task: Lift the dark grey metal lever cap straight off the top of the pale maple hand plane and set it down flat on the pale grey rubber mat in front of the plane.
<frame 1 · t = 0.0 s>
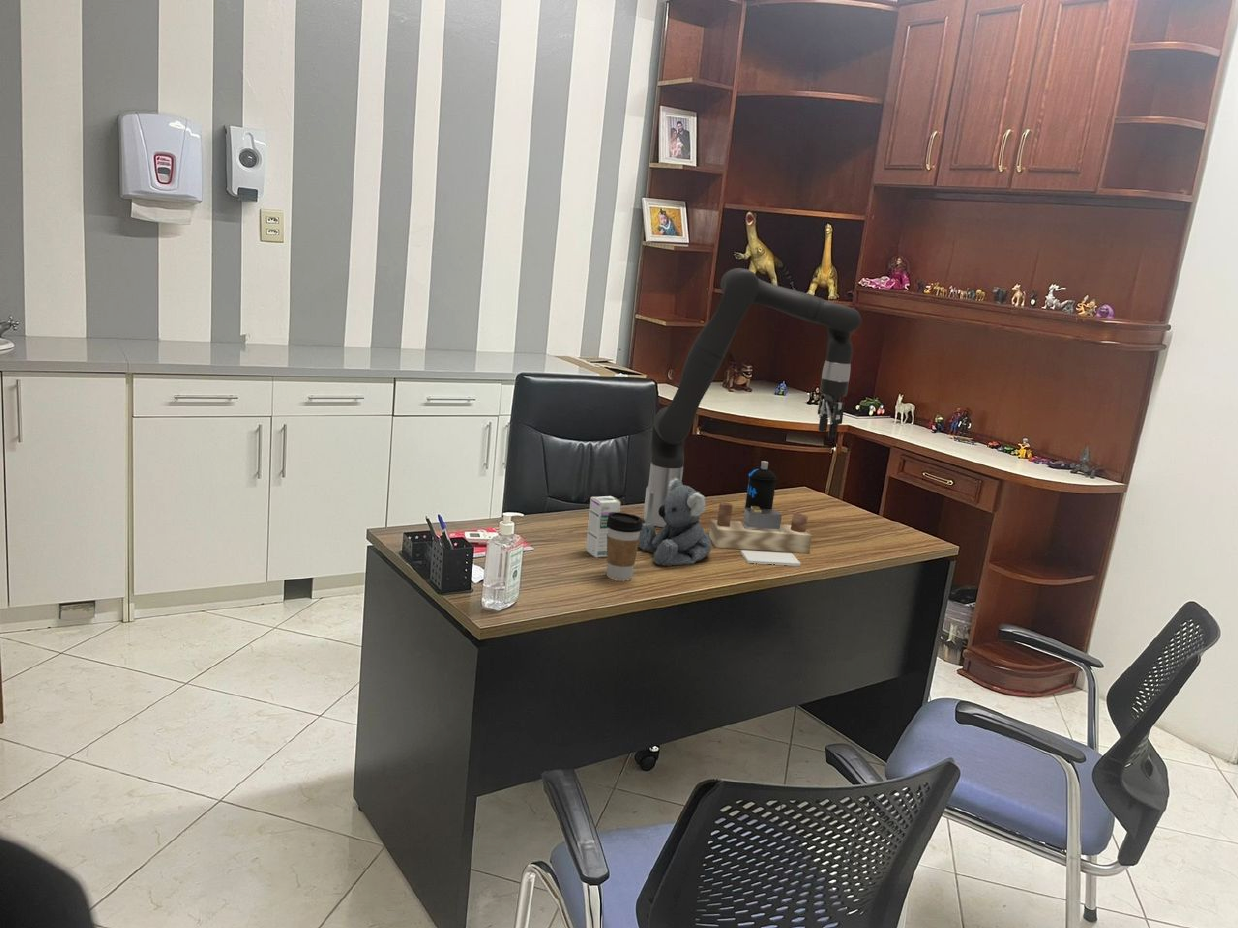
hand: (826, 434, 271), 29 cm above the table, tool pointing down, fingers open, 8 cm apart
coffee cup: (619, 577, 226), on the table
rubber mat: (770, 559, 249), on the table
lever cap: (761, 525, 260), point 6 cm above the table, touching hand plane
aerosol can: (755, 529, 276), on the table
hand plane: (758, 544, 261), on the table
koala plush: (676, 556, 245), on the table
syrup box: (600, 554, 241), on the table
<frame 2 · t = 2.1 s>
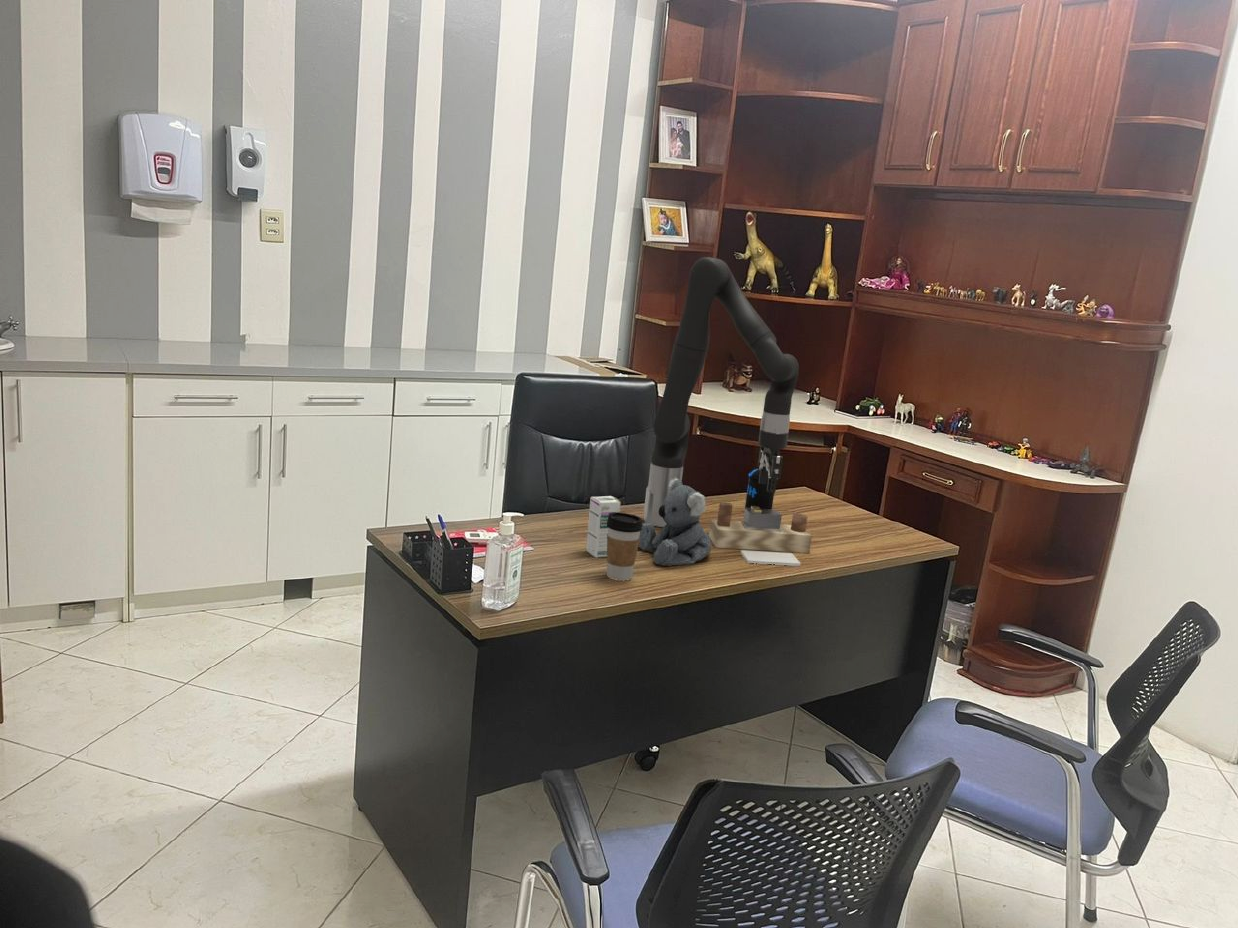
hand: (766, 488, 257), 16 cm above the table, tool pointing down, fingers open, 8 cm apart
nothing on the table moved.
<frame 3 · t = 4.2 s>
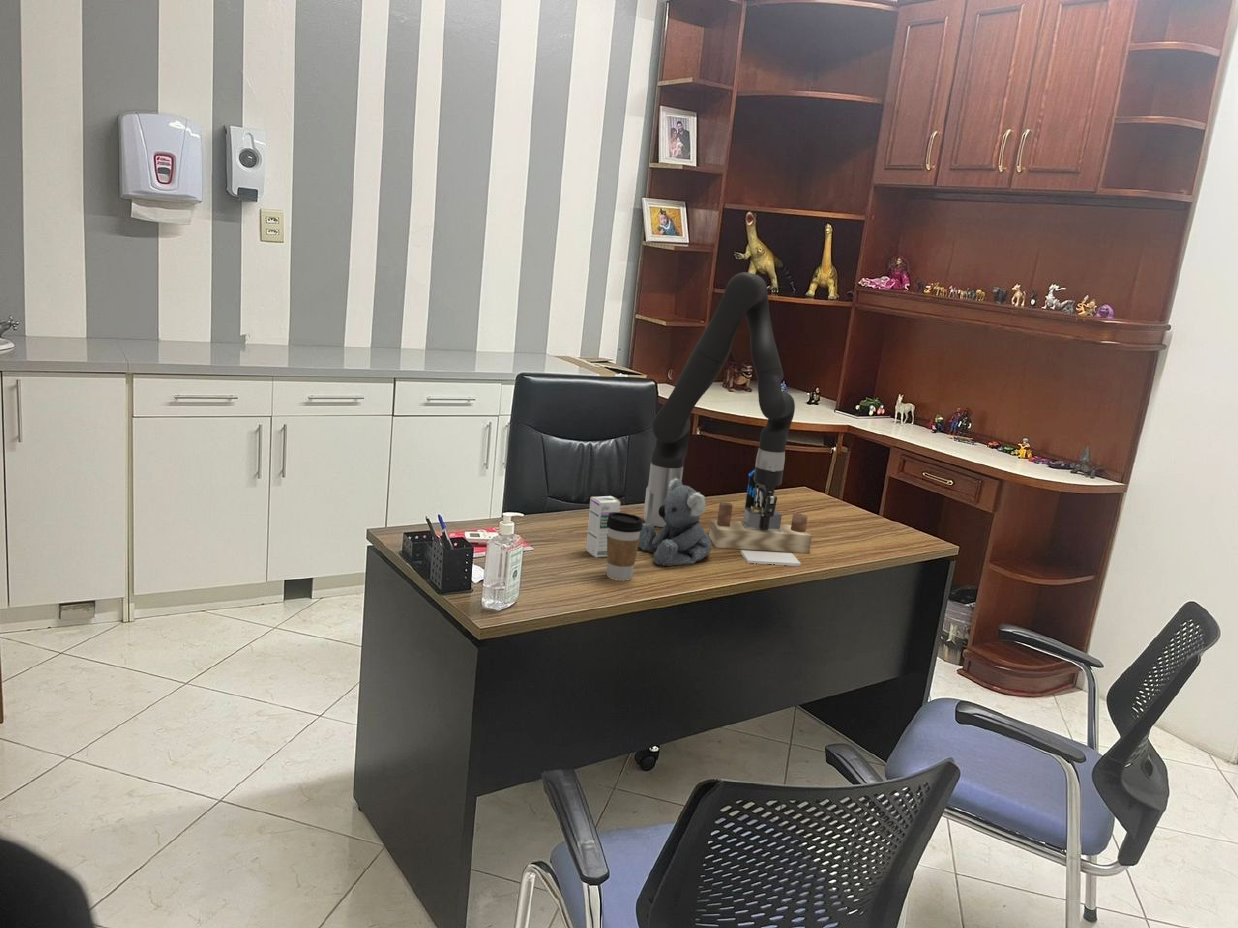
hand: (761, 526, 260), 5 cm above the table, tool pointing down, fingers closed on hand plane, 5 cm apart
nothing on the table moved.
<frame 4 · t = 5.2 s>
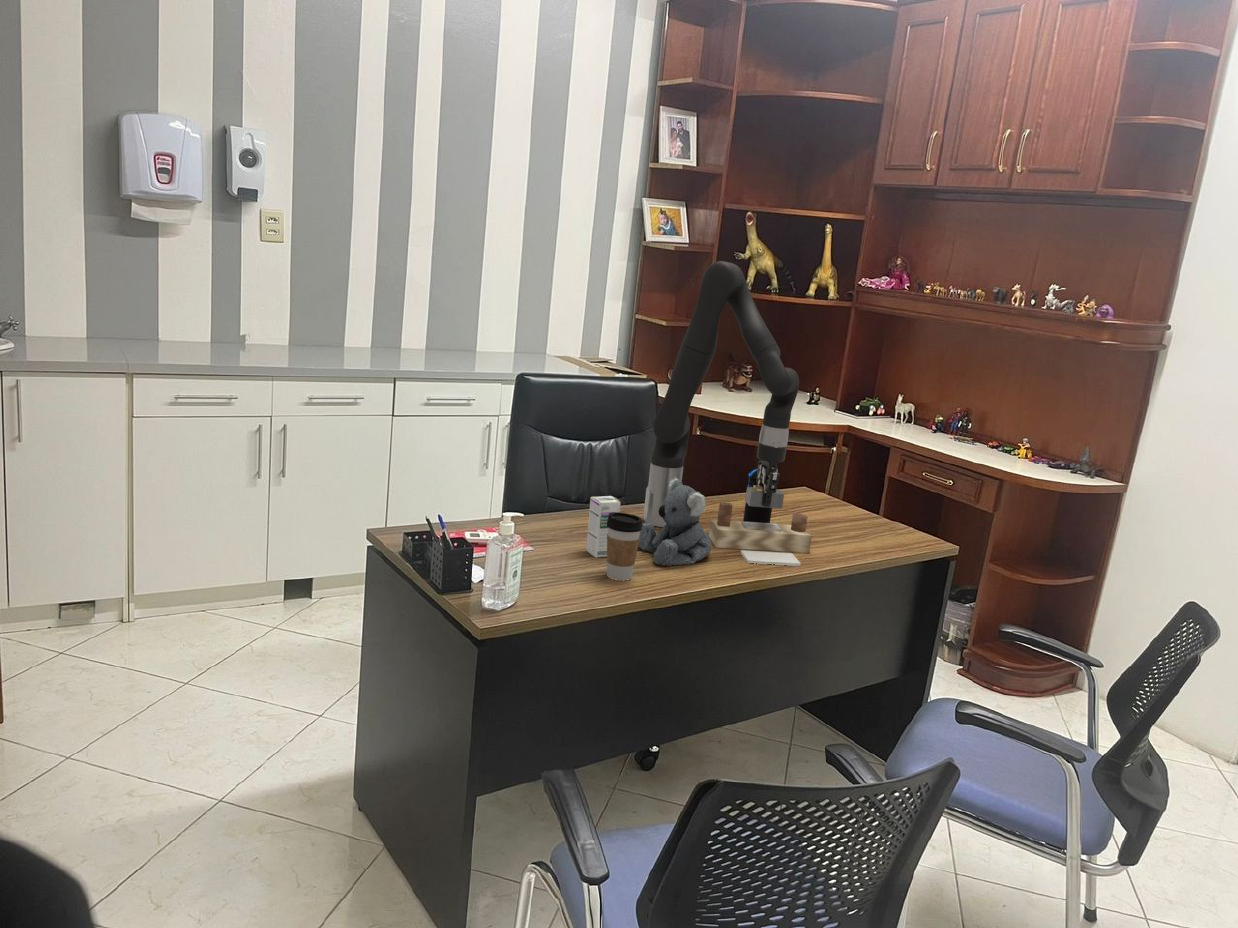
hand: (763, 503, 258), 12 cm above the table, tool pointing down, fingers closed on lever cap, 5 cm apart
lever cap: (763, 504, 258), point 11 cm above the table, touching gripper
everything else where it was.
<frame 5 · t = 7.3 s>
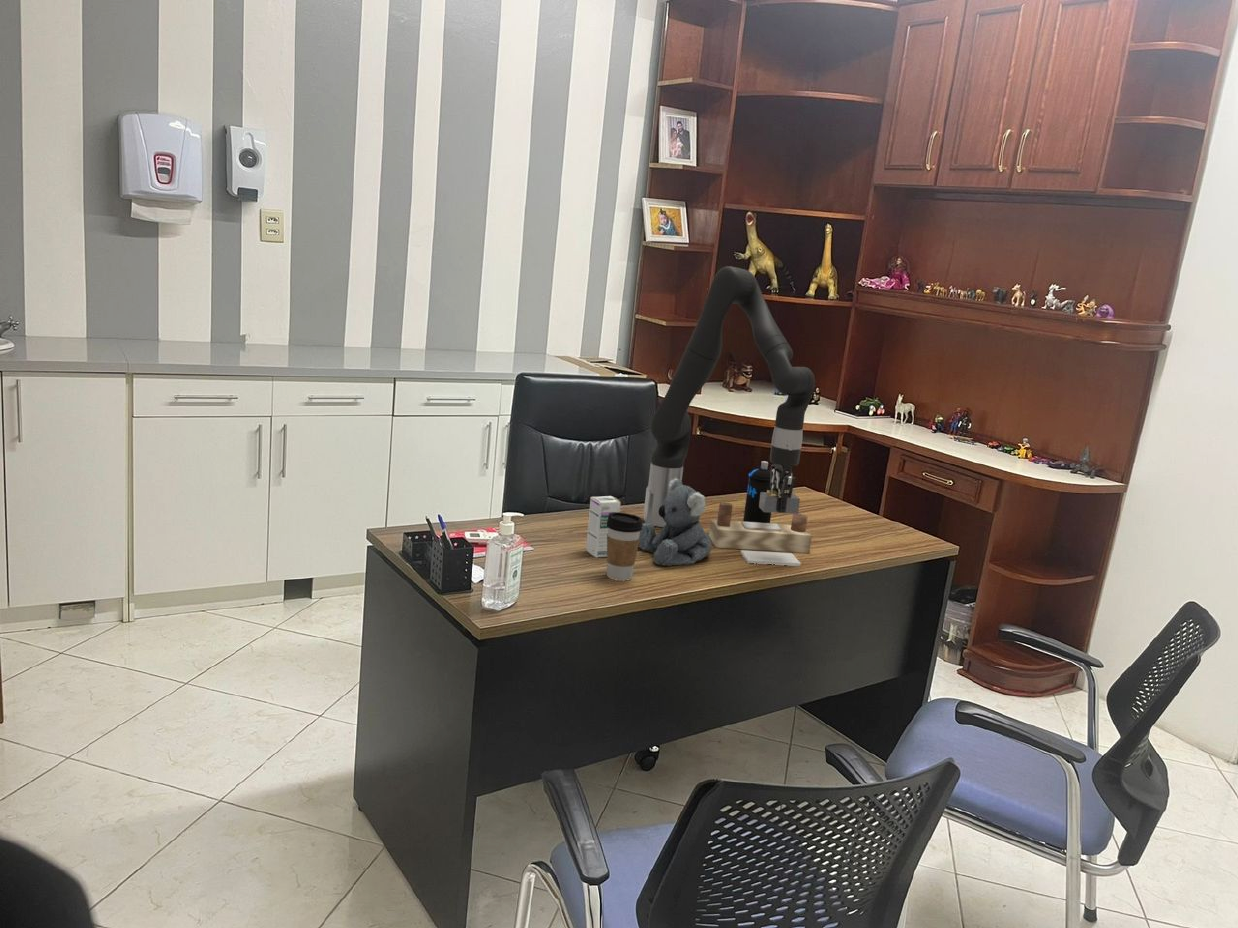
hand: (777, 508, 246), 14 cm above the table, tool pointing down, fingers closed on lever cap, 5 cm apart
lever cap: (778, 510, 246), point 13 cm above the table, touching gripper
everything else where it was.
when the fingers open (2 cm above the table, at t = 9.8 s): lever cap stays where it is, resting on rubber mat.
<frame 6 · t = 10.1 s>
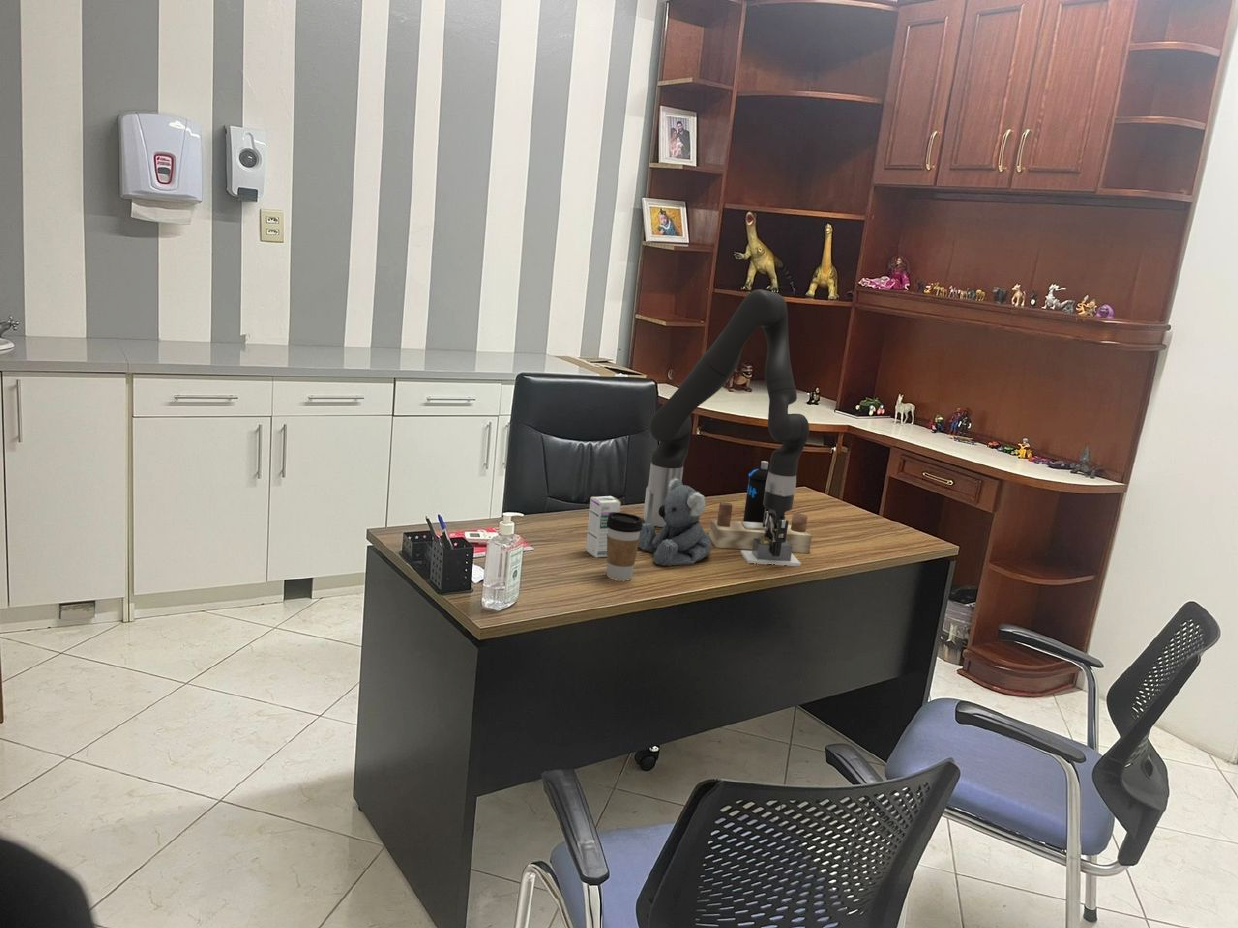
hand: (771, 550, 249), 2 cm above the table, tool pointing down, fingers open, 7 cm apart
lever cap: (771, 556, 249), point 1 cm above the table, touching rubber mat
everything else where it was.
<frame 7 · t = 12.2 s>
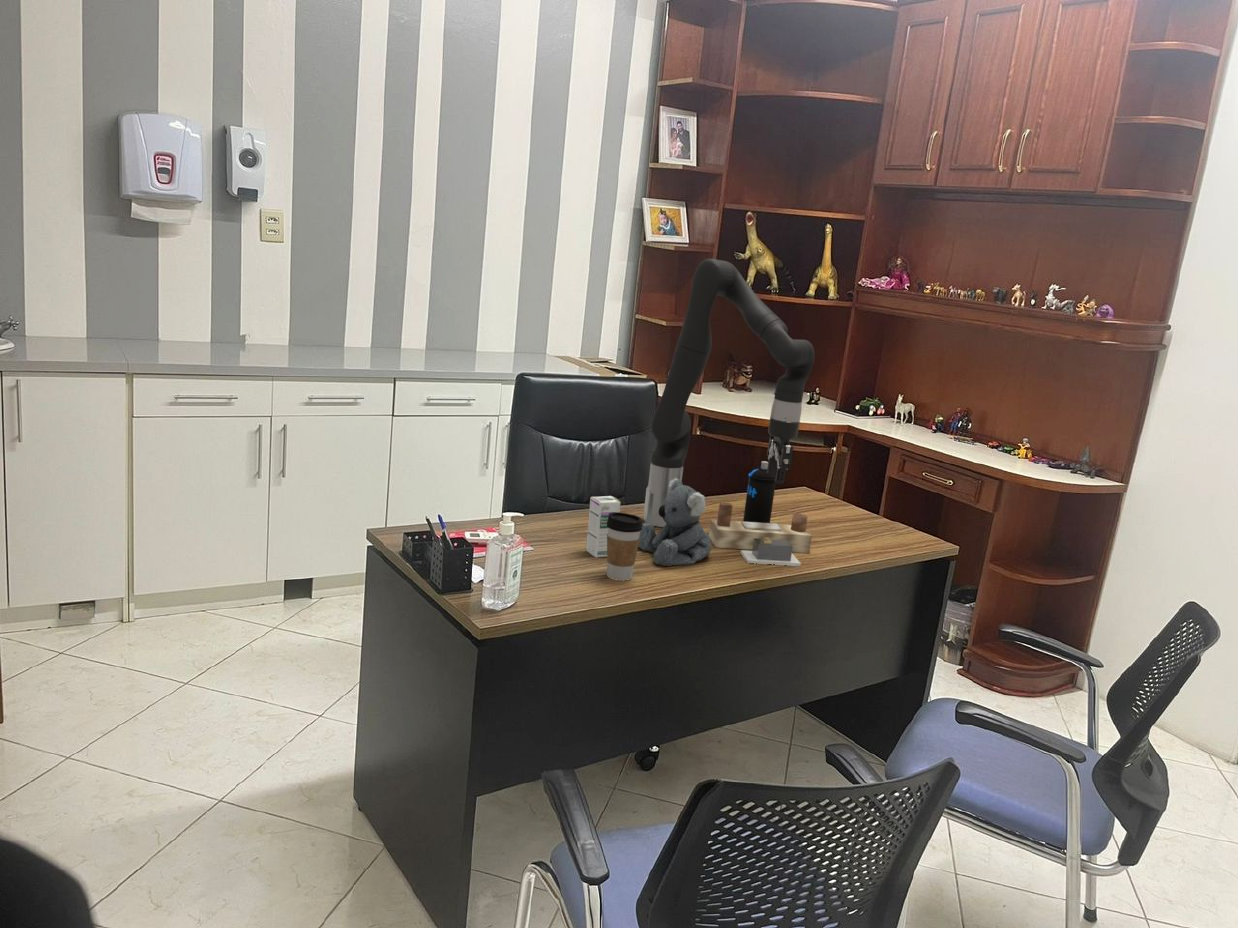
hand: (775, 478, 247), 21 cm above the table, tool pointing down, fingers open, 8 cm apart
nothing on the table moved.
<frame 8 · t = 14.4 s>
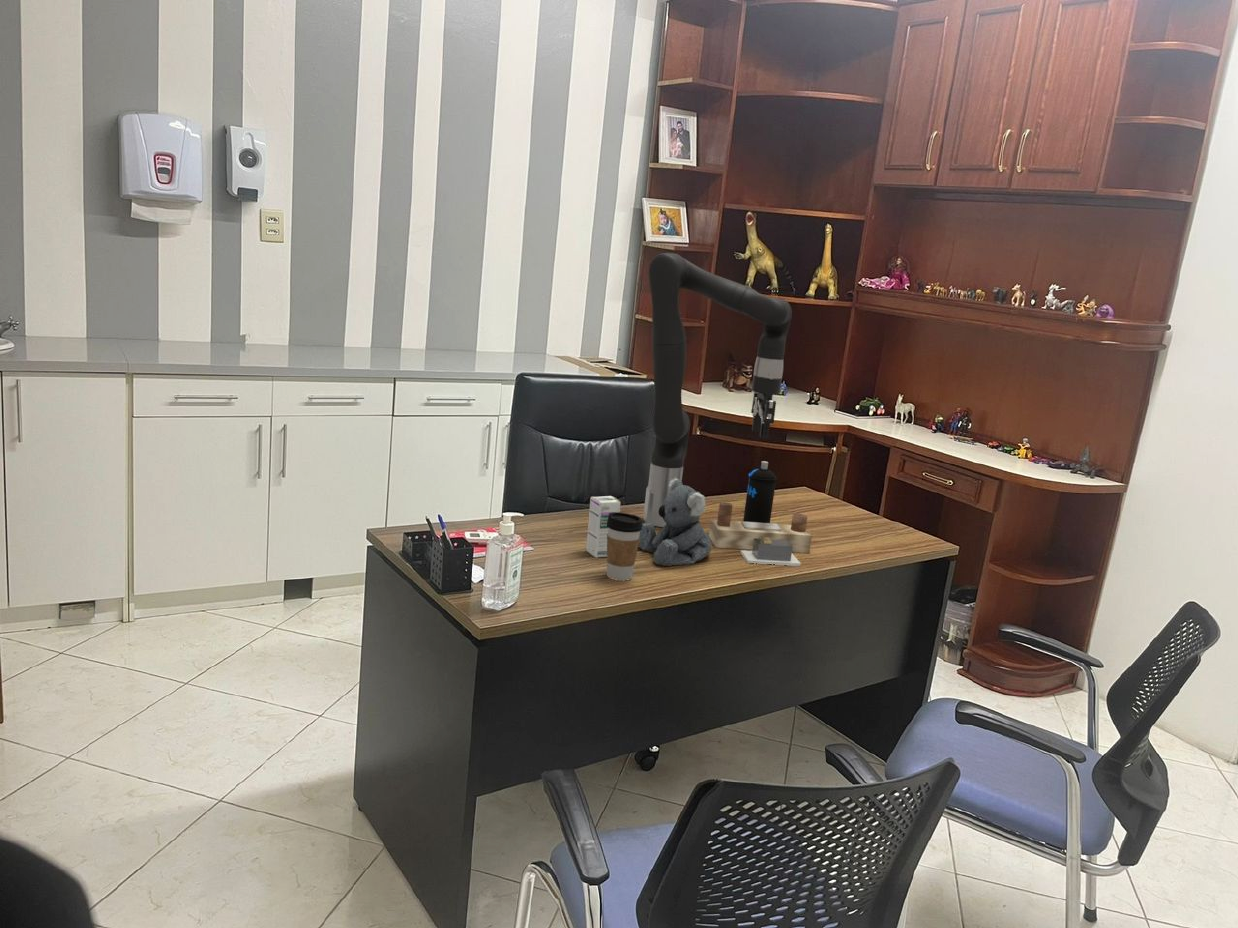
hand: (759, 434, 256), 30 cm above the table, tool pointing down, fingers open, 8 cm apart
nothing on the table moved.
at the end: lever cap inside the target area on the rubber mat (0.2 cm from its centre), point 0.8 cm above the rubber mat's base; lever cap tilted 0°; the gripper is holding nothing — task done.
